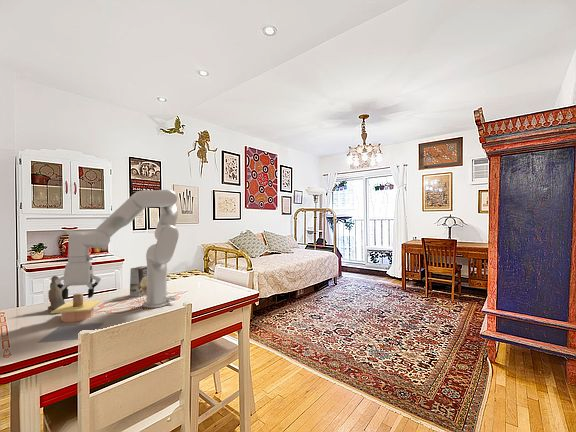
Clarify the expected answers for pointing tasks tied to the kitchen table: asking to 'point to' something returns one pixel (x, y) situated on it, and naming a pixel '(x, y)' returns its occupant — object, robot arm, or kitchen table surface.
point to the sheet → (76, 309)
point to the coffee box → (138, 281)
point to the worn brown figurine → (55, 295)
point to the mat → (69, 332)
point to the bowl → (76, 316)
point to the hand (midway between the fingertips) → (78, 297)
